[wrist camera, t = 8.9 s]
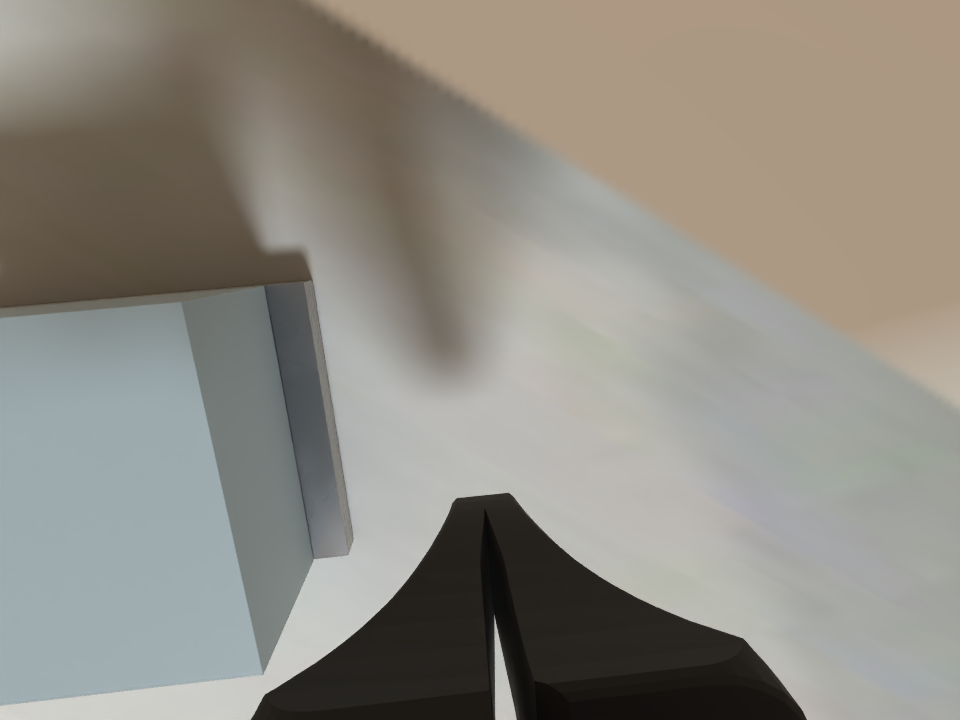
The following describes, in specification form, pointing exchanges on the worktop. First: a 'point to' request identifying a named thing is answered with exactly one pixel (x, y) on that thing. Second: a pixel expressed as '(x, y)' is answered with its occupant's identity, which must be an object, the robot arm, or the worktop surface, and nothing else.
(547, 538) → the robot arm
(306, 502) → the base
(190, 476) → the block
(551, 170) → the worktop surface
